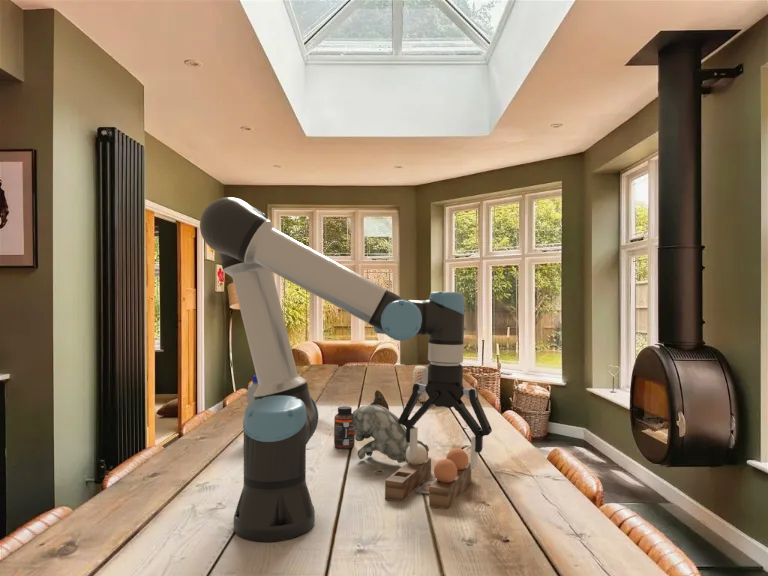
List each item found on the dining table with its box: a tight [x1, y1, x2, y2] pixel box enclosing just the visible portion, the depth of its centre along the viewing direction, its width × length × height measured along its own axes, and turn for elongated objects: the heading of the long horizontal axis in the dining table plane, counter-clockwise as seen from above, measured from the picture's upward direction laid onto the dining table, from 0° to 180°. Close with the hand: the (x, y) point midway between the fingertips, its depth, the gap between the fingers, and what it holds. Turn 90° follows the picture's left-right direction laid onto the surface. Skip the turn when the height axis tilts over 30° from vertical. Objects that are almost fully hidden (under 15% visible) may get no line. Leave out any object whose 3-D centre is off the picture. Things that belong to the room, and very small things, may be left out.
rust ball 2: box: [445, 447, 469, 471], centre depth 125 cm, size 5×5×5 cm
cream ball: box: [406, 444, 427, 465], centre depth 129 cm, size 5×5×5 cm
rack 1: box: [384, 457, 432, 503], centre depth 125 cm, size 19×4×4 cm, turn 156°
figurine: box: [351, 404, 430, 464], centre depth 140 cm, size 10×19×20 cm
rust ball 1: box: [433, 458, 457, 483], centre depth 117 cm, size 5×5×5 cm
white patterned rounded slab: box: [412, 365, 428, 403], centre depth 224 cm, size 21×6×15 cm, turn 12°
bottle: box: [246, 374, 259, 406], centre depth 162 cm, size 7×7×20 cm
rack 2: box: [428, 462, 472, 510], centre depth 121 cm, size 19×4×4 cm, turn 156°
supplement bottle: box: [333, 405, 356, 450], centre depth 157 cm, size 6×6×11 cm
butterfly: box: [369, 390, 390, 411], centre depth 187 cm, size 12×10×10 cm
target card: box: [415, 480, 434, 496], centre depth 123 cm, size 7×4×1 cm, turn 156°
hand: (442, 462), depth 117 cm, fingers open, 13 cm apart
